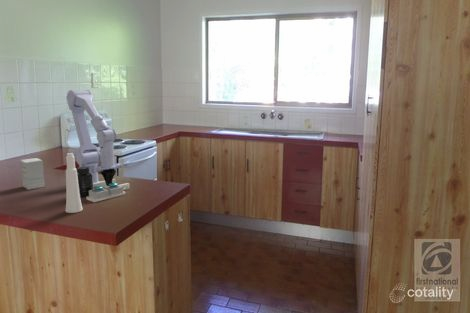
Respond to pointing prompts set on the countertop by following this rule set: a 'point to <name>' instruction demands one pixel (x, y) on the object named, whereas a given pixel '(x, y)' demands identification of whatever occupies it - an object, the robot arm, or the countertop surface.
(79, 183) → the supplement bottle
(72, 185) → the cosmetic bottle
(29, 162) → the supplement box
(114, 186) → the plunger inner
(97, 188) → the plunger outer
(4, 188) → the countertop surface
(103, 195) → the white knob panel
